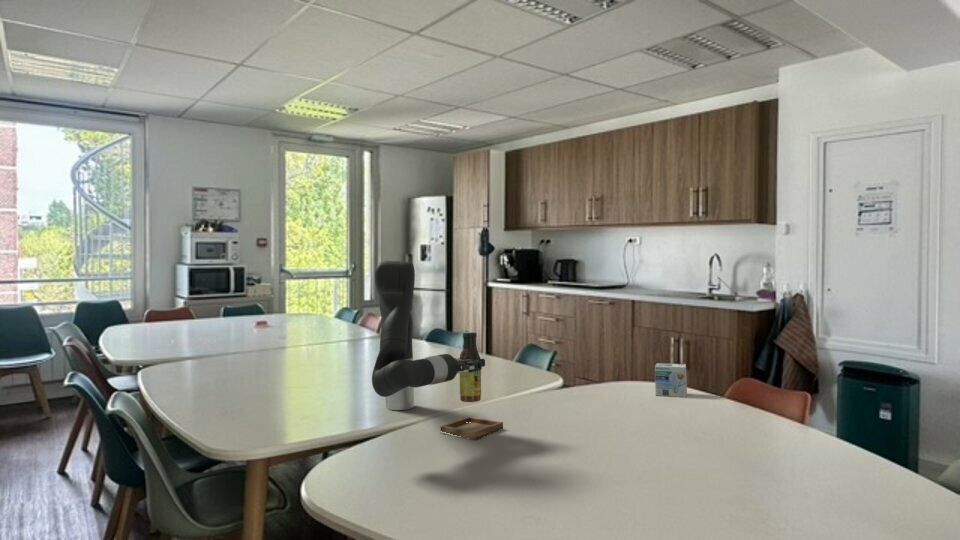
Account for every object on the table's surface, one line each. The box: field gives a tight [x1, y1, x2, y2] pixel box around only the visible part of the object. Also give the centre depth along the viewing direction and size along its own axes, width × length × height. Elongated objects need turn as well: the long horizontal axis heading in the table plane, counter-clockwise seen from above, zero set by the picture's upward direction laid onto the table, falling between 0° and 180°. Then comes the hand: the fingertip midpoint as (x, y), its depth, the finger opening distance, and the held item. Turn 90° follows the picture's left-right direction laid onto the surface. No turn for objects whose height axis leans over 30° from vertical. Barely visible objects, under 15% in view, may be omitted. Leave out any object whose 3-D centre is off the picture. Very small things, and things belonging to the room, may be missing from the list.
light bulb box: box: [654, 362, 688, 398], centre depth 200 cm, size 11×7×11 cm, turn 68°
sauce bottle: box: [459, 331, 482, 403], centre depth 161 cm, size 7×6×20 cm
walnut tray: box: [439, 416, 504, 441], centre depth 161 cm, size 13×13×2 cm
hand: (474, 361), depth 163 cm, fingers closed on sauce bottle, 6 cm apart
